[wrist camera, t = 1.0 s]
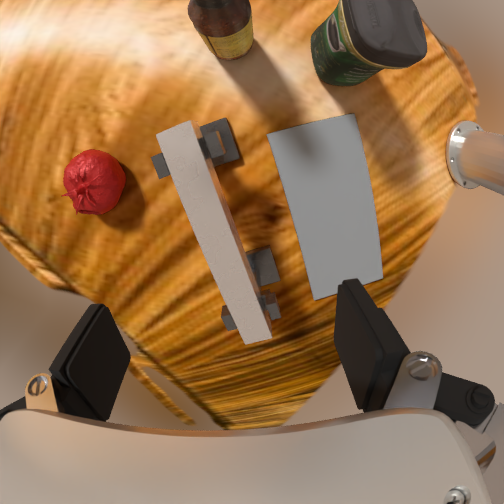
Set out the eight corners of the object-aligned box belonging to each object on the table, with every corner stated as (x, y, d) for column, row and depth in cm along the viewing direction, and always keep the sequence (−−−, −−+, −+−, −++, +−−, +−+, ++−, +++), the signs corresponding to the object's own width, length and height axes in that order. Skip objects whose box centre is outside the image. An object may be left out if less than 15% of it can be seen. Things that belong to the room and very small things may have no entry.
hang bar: (197, 121, 25) (190, 120, 22) (270, 320, 36) (272, 337, 33) (166, 133, 26) (155, 134, 23) (245, 326, 36) (245, 344, 33)
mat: (352, 113, 34) (354, 113, 33) (381, 275, 45) (382, 278, 44) (266, 134, 35) (266, 134, 35) (313, 297, 47) (314, 300, 46)
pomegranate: (101, 135, 35) (67, 138, 26) (143, 175, 38) (116, 187, 29) (70, 182, 37) (37, 196, 29) (108, 221, 40) (80, 242, 32)
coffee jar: (366, 87, 32) (443, 70, 15) (315, 86, 32) (367, 56, 16) (356, 31, 28) (420, -15, 11) (305, 28, 28) (344, -34, 11)
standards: (226, 118, 34) (215, 112, 23) (279, 276, 45) (288, 326, 34) (173, 138, 35) (140, 143, 24) (233, 289, 46) (229, 341, 35)
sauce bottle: (261, 37, 29) (272, -36, 11) (236, 69, 31) (224, 13, 13) (222, 17, 27) (201, -58, 10) (197, 49, 30) (153, -11, 12)
